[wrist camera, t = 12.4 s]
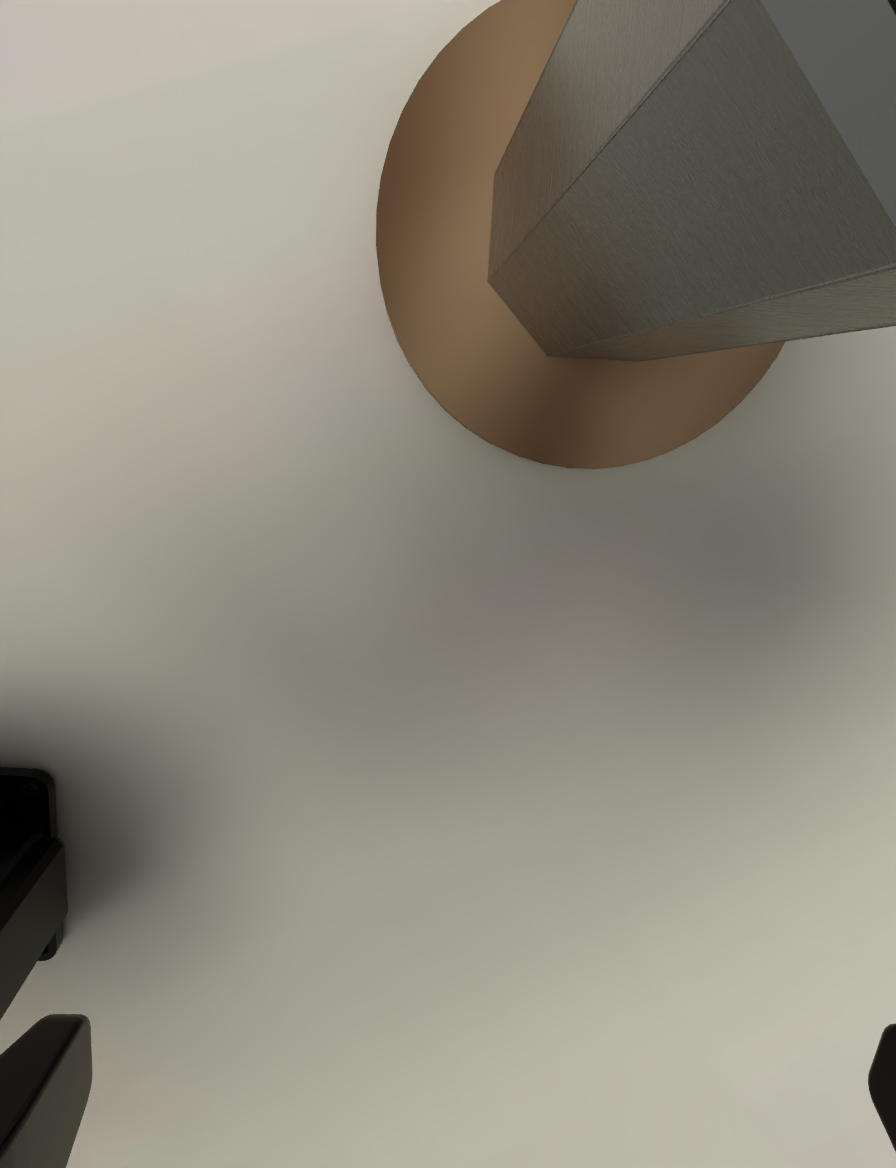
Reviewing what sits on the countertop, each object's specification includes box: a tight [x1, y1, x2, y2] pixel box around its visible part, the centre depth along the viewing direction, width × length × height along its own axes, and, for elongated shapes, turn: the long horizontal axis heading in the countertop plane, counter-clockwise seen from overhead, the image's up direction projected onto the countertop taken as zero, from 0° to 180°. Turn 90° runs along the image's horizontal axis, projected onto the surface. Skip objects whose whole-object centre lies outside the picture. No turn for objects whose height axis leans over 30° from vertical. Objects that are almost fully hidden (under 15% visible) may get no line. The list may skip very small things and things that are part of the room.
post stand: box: [376, 0, 785, 469], centre depth 15 cm, size 11×11×5 cm
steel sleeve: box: [487, 0, 896, 362], centre depth 11 cm, size 6×6×12 cm
